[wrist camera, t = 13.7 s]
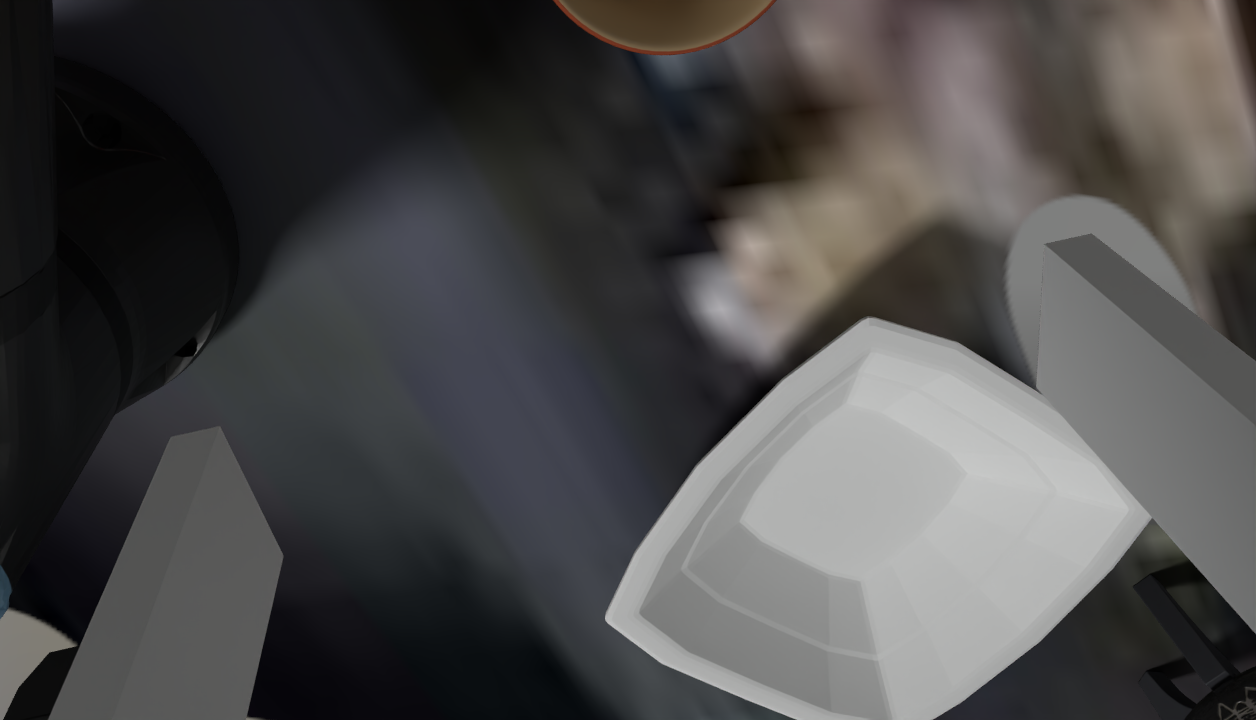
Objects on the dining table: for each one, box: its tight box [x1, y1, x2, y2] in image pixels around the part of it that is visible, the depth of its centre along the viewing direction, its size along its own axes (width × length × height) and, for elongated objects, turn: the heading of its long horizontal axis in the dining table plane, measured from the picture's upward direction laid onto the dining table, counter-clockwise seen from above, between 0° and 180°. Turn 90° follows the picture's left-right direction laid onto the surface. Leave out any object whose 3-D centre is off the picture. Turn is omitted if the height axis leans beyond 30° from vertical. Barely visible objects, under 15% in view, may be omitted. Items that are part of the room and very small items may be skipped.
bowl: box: [605, 316, 1152, 720], centre depth 52 cm, size 22×23×6 cm
